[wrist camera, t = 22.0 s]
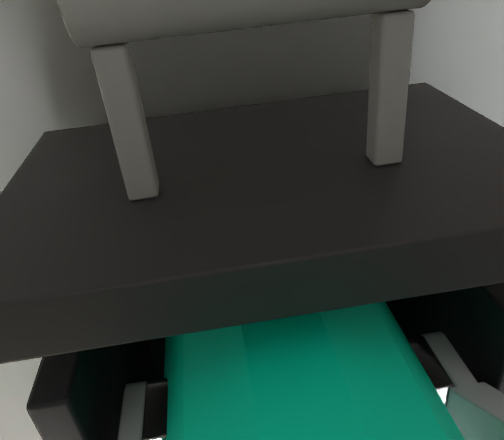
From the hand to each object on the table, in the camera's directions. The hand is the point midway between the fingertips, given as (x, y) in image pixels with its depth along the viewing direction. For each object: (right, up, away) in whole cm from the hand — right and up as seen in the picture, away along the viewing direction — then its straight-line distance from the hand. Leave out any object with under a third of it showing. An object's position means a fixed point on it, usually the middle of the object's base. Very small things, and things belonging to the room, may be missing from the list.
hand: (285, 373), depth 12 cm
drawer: (-1, +4, +4) cm, 6 cm away
